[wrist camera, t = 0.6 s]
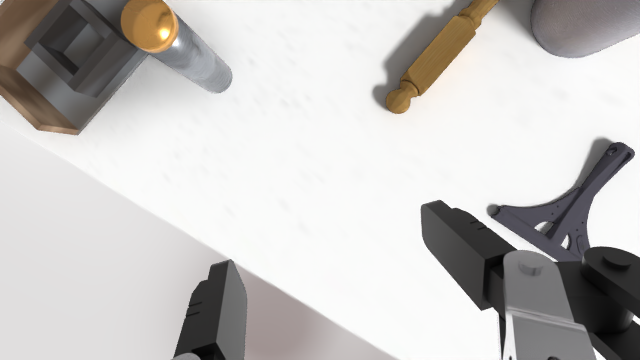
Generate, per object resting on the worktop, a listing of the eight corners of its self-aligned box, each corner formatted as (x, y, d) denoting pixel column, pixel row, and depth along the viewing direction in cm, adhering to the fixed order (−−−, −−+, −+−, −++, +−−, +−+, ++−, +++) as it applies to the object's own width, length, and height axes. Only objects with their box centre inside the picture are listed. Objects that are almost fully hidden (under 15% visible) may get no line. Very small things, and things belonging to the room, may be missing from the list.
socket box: (10, 71, 36) (-41, 55, 31) (105, -42, 35) (67, -77, 30) (77, 135, 36) (37, 129, 31) (174, 24, 34) (148, 0, 30)
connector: (199, 60, 35) (119, -5, 22) (231, 59, 34) (170, -8, 21) (200, 93, 35) (122, 48, 22) (232, 92, 35) (172, 46, 22)
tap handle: (596, -105, 29) (404, 116, 31) (571, -79, 32) (397, 121, 34) (574, -124, 29) (382, 98, 31) (551, -96, 32) (378, 104, 34)
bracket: (663, 179, 33) (693, 180, 31) (588, 281, 34) (611, 291, 31) (558, 113, 34) (579, 108, 31) (487, 216, 34) (500, 220, 32)
